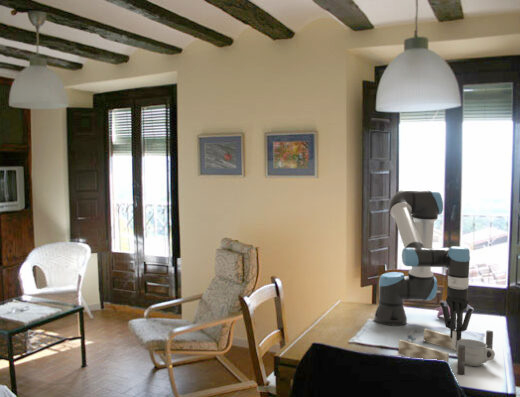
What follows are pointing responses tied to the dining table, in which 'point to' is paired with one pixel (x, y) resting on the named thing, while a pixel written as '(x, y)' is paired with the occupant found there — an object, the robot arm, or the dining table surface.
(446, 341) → the wooden bars
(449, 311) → the lily
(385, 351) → the dining table surface
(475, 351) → the teacup
